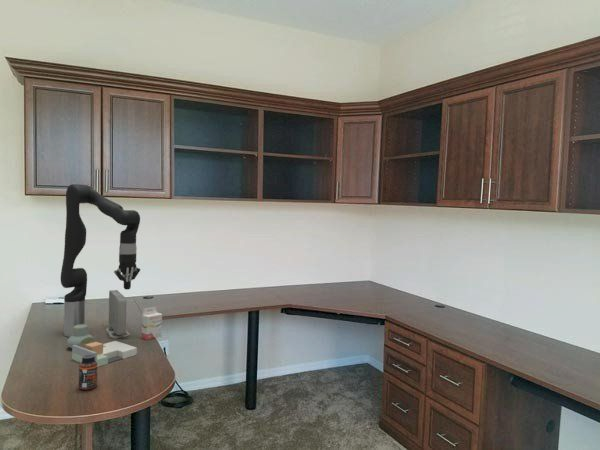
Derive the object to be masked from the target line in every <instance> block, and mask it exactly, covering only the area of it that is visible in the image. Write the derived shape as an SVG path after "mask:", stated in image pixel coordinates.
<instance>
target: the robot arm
mask: <svg viewBox="0 0 600 450" xmlns="http://www.w3.org/2000/svg"><path fill="white" fill-rule="evenodd" d="M80 204H90V205H93V206H96V207H97V209H98V210H99V211H100V212H101V213H102V214H103V215H106V216H108V217H109V218H111V219H112V220H114V221H115V222H116V223H117V224H119V225H122V226H126V228H125V229H123V230H121V232H120V233H119V248H118V252H119V253H118V262H119V265H118V267H117V269H116V270H114V271H113V273H114V274H115V275H116V277H117V278H118V279H119V281H123V289H124V290H130V289H131V287H132V286H131V285H132V281H134V280H135V279H136V278H137V276H138V275H139V273H140V271H141V268H140V267H137V264H136V263H137V233H138V231H139V226H140V223H141V216H140V214H139V212H138V211H137V210H133V209H130V210H128V209H126V210H125V209H124V207H122V205H120V204H118V203H116V202H114V201H112V200H110V199H108V198H107V197H105V196H103V195H102V194H100V193H99V192H97V191H96V190H95V189H94V188H92V187H91V186H89V185H88V184H77V183H76V184H75V183H74V184H70V185H68V186H67V188H66V191H65V207H66V208H65V209H66V211H65V212H66V215H65V216H66V217H65V232H64V249H63V250H64V251H63V260H62V265H61V270H60V271H61V272H60V284H61V286H62V287H63V288H64V289H70V288H73V289H72V290H71V291H70V292H68V293H66V294H65V295H64V297H63V299H64V301H63V302H64V306H63V307H64V308H63V309H64V311H63V312H64V313H63V336H65V337H69V338H70V337H71V336H72V335H73V327H74V326H76V325H81V324H85V325H86V296H87V287H88V285H87V284H88V273H87V270H86V269H85V268H83V267H77V268H74V265H75V261H76V259H77V257H78V256H79V254H80V253H81V252H82V250H83V248H84V247H85V245H86V243H87V242H86V241H87V227H86V225H85V224H84V222H83V219H82V218H81V214H80Z"/></svg>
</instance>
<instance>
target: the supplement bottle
mask: <svg viewBox="0 0 600 450" xmlns="http://www.w3.org/2000/svg"><path fill="white" fill-rule="evenodd" d="M94 359H95V356H94V355H84V356H83V357H82V362H81V363H80V362H79V365H78V389H80V390H82V391H87V390H93V389H94V388H96V387H97V385H98V367H97V361H95V360H94Z"/></svg>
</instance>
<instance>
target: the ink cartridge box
mask: <svg viewBox="0 0 600 450" xmlns="http://www.w3.org/2000/svg"><path fill="white" fill-rule="evenodd" d="M162 328H163V314H162V313H160V312H158V306H154V307H153V306H152V307H145V308H143V309H142V315H141V339H143V340H146V341H150V340H153V338H154V337H155V338H154V339H158V338H162V336H163V335H162V333H163V332H162V331H163V329H162Z"/></svg>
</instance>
